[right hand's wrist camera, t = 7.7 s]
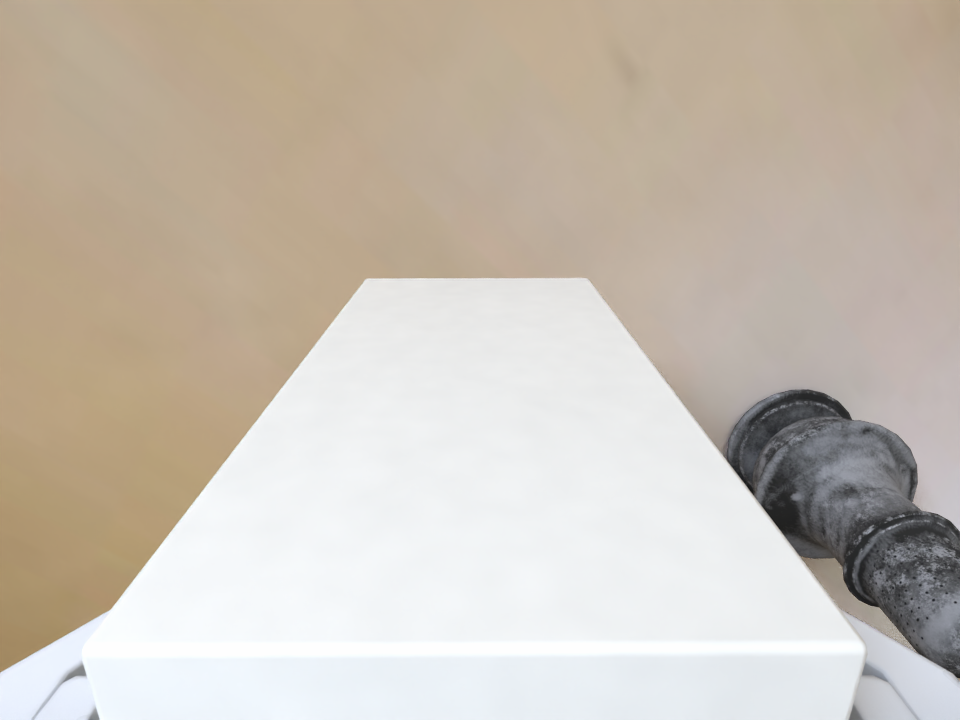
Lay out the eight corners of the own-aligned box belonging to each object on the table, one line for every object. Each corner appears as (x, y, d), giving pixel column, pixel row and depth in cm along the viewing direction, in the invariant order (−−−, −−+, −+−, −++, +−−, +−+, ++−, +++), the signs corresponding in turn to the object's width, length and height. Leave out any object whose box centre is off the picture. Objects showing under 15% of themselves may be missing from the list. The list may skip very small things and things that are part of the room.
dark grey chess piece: (890, 433, 26) (1212, 669, 14) (787, 528, 27) (1003, 806, 16) (792, 355, 24) (1060, 546, 13) (691, 459, 26) (851, 709, 15)
